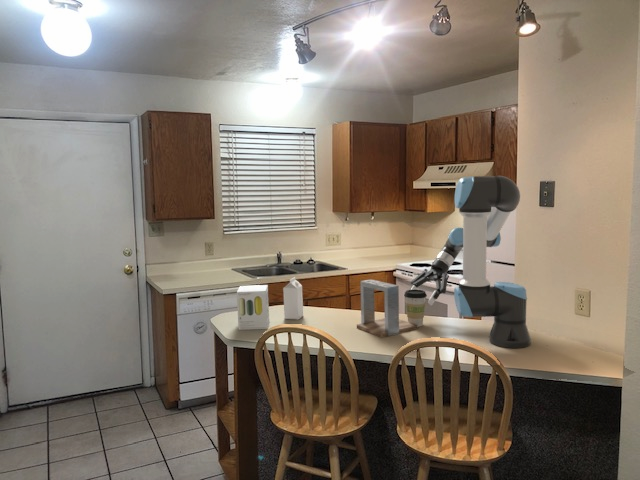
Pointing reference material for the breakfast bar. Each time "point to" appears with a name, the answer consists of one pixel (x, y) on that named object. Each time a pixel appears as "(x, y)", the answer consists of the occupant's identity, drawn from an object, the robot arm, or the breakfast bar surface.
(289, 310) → the milk carton
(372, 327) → the walnut board
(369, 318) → the grey keeper bridge
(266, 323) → the supplement box
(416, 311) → the coffee cup
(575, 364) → the breakfast bar surface
